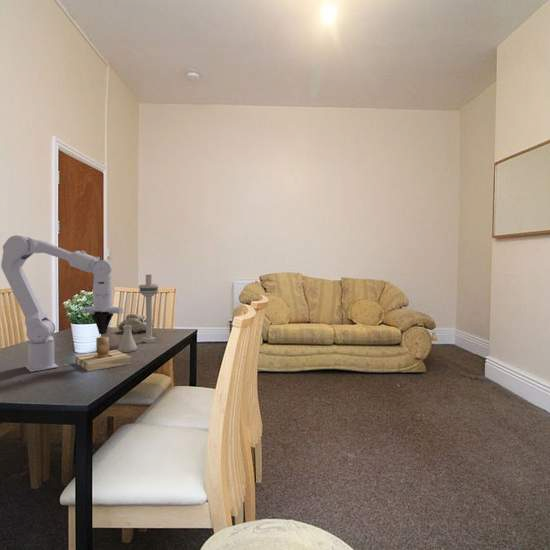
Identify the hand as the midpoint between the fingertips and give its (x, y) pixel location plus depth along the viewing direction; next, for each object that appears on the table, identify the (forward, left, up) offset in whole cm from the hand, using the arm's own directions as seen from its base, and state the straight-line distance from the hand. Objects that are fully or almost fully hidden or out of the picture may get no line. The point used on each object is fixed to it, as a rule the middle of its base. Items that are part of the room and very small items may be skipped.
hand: (102, 333), depth 131 cm
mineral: (-53, +34, -11) cm, 64 cm away
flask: (-14, +14, -11) cm, 22 cm away
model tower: (-25, +28, -11) cm, 39 cm away
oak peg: (0, 0, -10) cm, 10 cm away
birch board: (0, 0, -10) cm, 10 cm away
